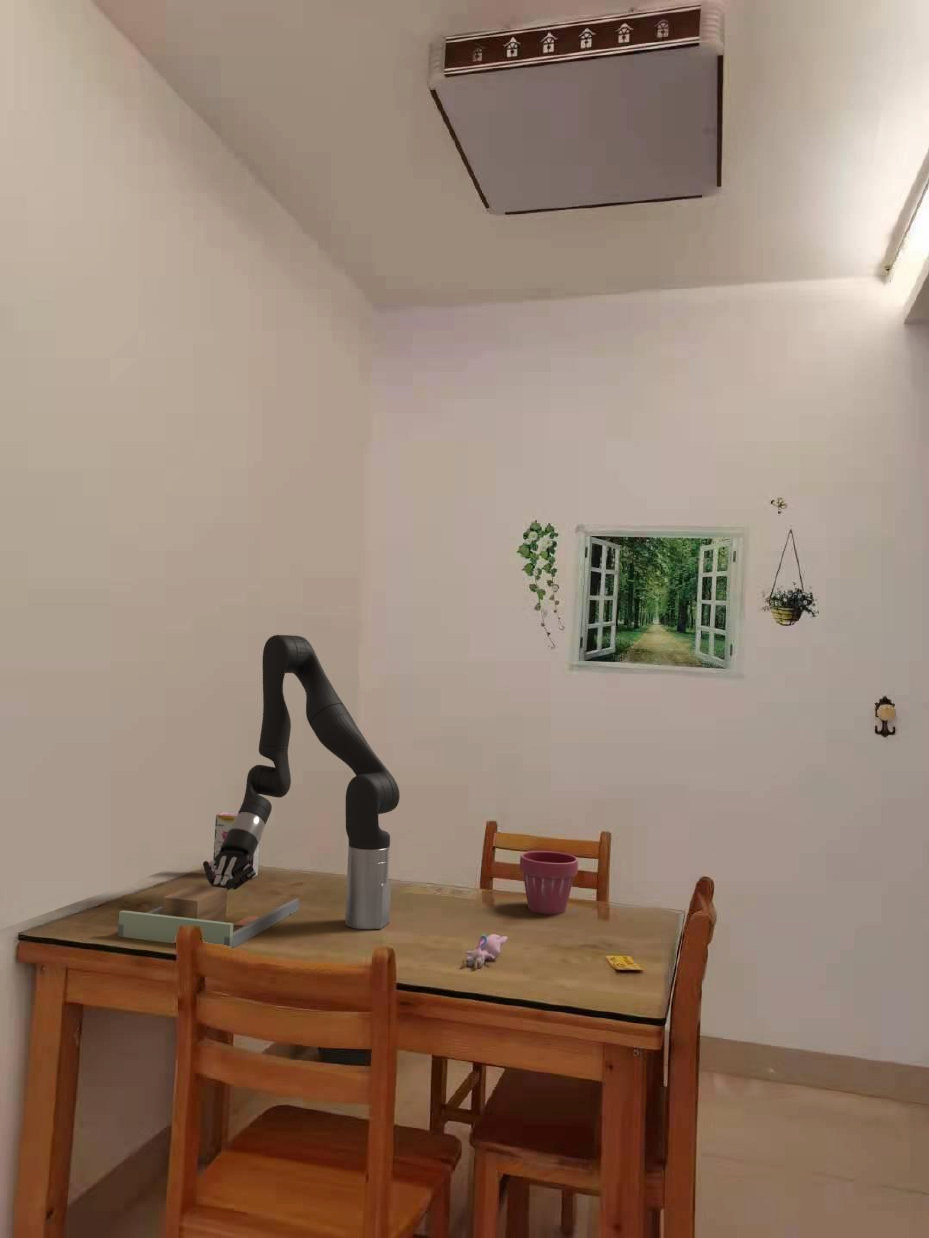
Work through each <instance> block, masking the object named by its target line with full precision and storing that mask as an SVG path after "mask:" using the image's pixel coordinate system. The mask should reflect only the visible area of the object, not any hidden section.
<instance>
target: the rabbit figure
mask: <svg viewBox="0 0 929 1238" xmlns="http://www.w3.org/2000/svg"><path fill="white" fill-rule="evenodd" d="M507 939H508V936H506V935H505V936H500V935H498V934H494V933H493V934H492V933H491V934H489V935H488V936H487V935H486V934H485V933H482V934H481V935H480V937H479V941H478V943H477V946H476V949H474V950H469V951H465V954H466V955H467V956H465V957H464V958H465V959H463V962H462V967H463V968H466V967H467V966H468V967H473V969H475V970H477V969H478V968H479V969H481V968H482V967H483V966H484V964H485V960H495V958H497V957H498V956H500V954H501V947H502V946H503V945H504V944H505V943H506V941H507Z"/></svg>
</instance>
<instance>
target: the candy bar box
mask: <svg viewBox="0 0 929 1238" xmlns="http://www.w3.org/2000/svg"><path fill="white" fill-rule="evenodd" d="M237 814H238V812H226V811H222V812H218V813H217V814H215V825H214V826H215V827H214V829H215V830H214V843H213V844H214V845H213V859H212V861H213V860H215V857H216V856H217V855H218V854H219V852H220V849H221V846H222V844H223V841H224V839H225V837H226V835H227V833H228V831H229V829H230V826H231V824H232V822H233V821H234V819H235V818H236V816H237ZM260 841H261V840H260ZM260 841H259V843H258V846H257V848H256V850H255V853H254V855H253V857H252V859H251V860H250V861H251V864H250V866H252V867H253V868H254V870H255V872H256V875H255V876H253V877H254V878H256V877H257V876H258V875H259V859H260ZM216 872H217V867H216V866H215V870H214V872H213V874H214V877H216ZM253 877H252V878H253ZM254 878H253V879H254Z"/></svg>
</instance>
